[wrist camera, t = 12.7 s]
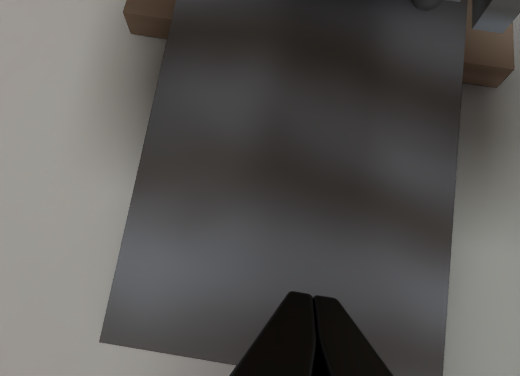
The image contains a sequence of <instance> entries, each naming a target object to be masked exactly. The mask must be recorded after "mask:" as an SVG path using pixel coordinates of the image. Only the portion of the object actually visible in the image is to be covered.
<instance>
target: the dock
mask: <svg viewBox="0 0 520 376" xmlns="http://www.w3.org/2000/svg"><path fill="white" fill-rule="evenodd" d="M519 13H520V0H461V1H460V2H456V1H449V0H442V2H441V3H440V4H439V5H438V6H437V7H436V8H434V9H432V10H429V11H423V10H420V9H418V8H417V7H416V6H415V5H414V3H413V0H127V1H126V4H125V7H124V10H123V14H124V16H125V19H126V22H127V24H128V27H129V30H130V32H131V34H136V35H143V36H150V37H157V38H163V39H167V43H166V47H165V52H164V56H163V61H162V65H161V70H160V74H159V79H158V83H157V87H156V92H155V96H154V101H153V105H152V110H151V114H150V119H149V123H148V127H147V132H146V136H145V141H144V145H143V150H142V154H141V159H140V163H139V168H138V172H137V176H136V181H135V185H134V190H133V194H132V199H131V203H130V208H129V212H128V216H127V221H126V225H125V230H124V234H123V239H122V243H121V248H120V252H119V256H118V261H117V265H116V270H115V274H114V279H113V283H112V288H111V292H110V297H109V301H108V305H107V310H106V314H105V319H104V323H103V328H102V332H101V337H100V341H99V342H102V343H108V344H113V345H119V346H125V347H131V348H137V349H143V350H149V351H155V352H161V353H167V354H173V355H179V356H185V357H191V358H197V359H203V360H209V361H214V362H220V363H226V364H232V365H237V364H238V363H239V361H240V360H241V359H242V357H243V356H244V354H245V353H246V351H247V350H248V349H249V347H250V346H251V344H252V343H253V342H254V340H255V339H256V337H257V336H258V335H259V333H260V332H261V330H262V329H263V327H264V326H265V325H266V323H267V322H268V320H269V319H270V318H271V316H272V315H273V313H274V312H275V310H276V309H277V308H278V306H279V305H280V303H281V302H282V301H283V299H284V298H285V296H286V295H287V294H288V293H289V292H290V291H295V292H301V293H308V294H310V295H311V296H312V297H314V296H315V295H320V296H326V297H332V298H336V299H337V300H338V301H339V302H340V303H341V305H342V306H343V307H344V309H345V310H346V311H347V313H348V314H349V315H350V317H351V318H352V319H353V321H354V322H355V324H356V325H357V326H358V328H359V329H360V330H361V332H362V333H363V334H364V336H365V337H366V338H367V340H368V341H369V342H370V344H371V345H372V346H373V348H374V349H375V351H376V352H377V353H378V355H379V356H380V357H381V359H382V360H383V361H384V363H385V364H386V365H387V367H388V368H389V369H390V371H391V372H392V374H393V375H394V376H443V361H444V346H445V332H446V317H447V302H448V287H449V272H450V257H451V243H452V228H453V213H454V198H455V183H456V168H457V154H458V139H459V124H460V109H461V94H462V83H468V84H475V85H482V86H489V87H496V88H497V87H498V86H499V85H500V84H501V83H502V82H503V81H504V80H505V79H506V78H507V77H508V76H509V74H510V73H511V72H512V71H513V70H514V48H513V20H514V19H515V18H516V17H517V15H518V14H519Z"/></svg>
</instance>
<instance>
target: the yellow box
mask: <svg viewBox="0 0 520 376" xmlns="http://www.w3.org/2000/svg"><path fill="white" fill-rule="evenodd" d="M449 1H456V2H460V1H461V0H449ZM441 2H442V0H413V3H414V5H415V6H416V7H417V8H418V9H420V10H423V11H429V10H432V9H434V8H436V7H437V6H438V5H439V4H440V3H441Z"/></svg>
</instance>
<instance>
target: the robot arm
mask: <svg viewBox="0 0 520 376" xmlns="http://www.w3.org/2000/svg"><path fill="white" fill-rule="evenodd" d="M229 376H394V375H393V374H392V372H391V371H390V369H389V368H388V367H387V365H386V364H385V363H384V361H383V360H382V359H381V357H380V356H379V355H378V353H377V352H376V351H375V349H374V348H373V346H372V345H371V344H370V342H369V341H368V340H367V338H366V337H365V336H364V334H363V333H362V332H361V330H360V329H359V328H358V326H357V325H356V324H355V322H354V321H353V319H352V318H351V317H350V315H349V314H348V313H347V311H346V310H345V309H344V307H343V306H342V305H341V303H340V302H339V301H338V300H337V299H336V298H332V297H326V296H320V295H315V296H314V297H312V296H311V295H310V294H308V293H301V292H295V291H290V292H289V293H288V294H287V295H286V296H285V298H284V299H283V301H282V302H281V303H280V305H279V306H278V308H277V309H276V310H275V312H274V313H273V315H272V316H271V318H270V319H269V320H268V322H267V323H266V325H265V326H264V327H263V329H262V330H261V332H260V333H259V335H258V336H257V337H256V339H255V340H254V342H253V343H252V344H251V346H250V347H249V349H248V350H247V351H246V353H245V354H244V356H243V357H242V359H241V360H240V361H239V363H238V364H237V366H236V367H235V368H234V370H233V371H232V373H231V374H230V375H229Z"/></svg>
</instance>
